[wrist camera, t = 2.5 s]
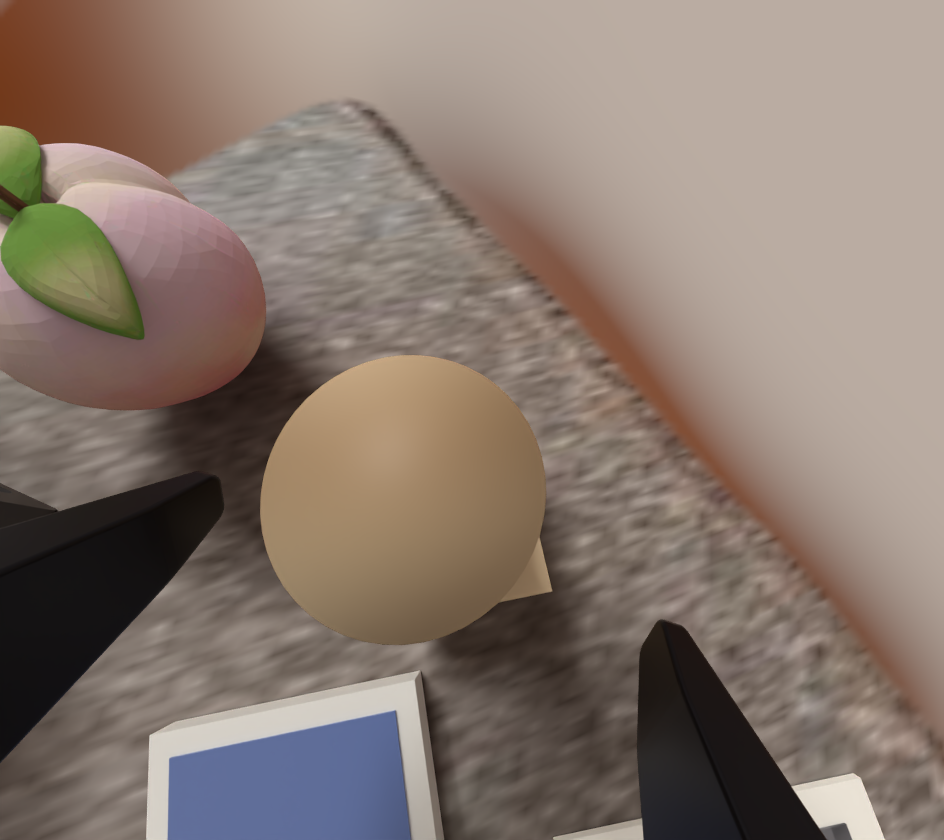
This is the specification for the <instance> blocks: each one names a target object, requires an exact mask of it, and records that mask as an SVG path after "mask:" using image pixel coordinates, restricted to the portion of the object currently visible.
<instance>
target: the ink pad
mask: <svg viewBox="0 0 944 840" xmlns="http://www.w3.org/2000/svg"><path fill="white" fill-rule="evenodd" d="M146 840H444V834H443V827H442V820H441V813H440V806H439V799H438V791H437V784H436V777H435V770H434V763H433V756H432V749H431V742H430V734H429V727H428V720H427V713H426V706H425V699H424V692H423V684H422V677H421V670H420V671H415V672H411V673H406V674H401V675H396V676H391V677H387V678H382V679H377V680H372V681H367V682H363V683H358V684H353V685H348V686H343V687H339V688H334V689H329V690H324V691H320V692H315V693H310V694H305V695H300V696H296V697H291V698H286V699H281V700H276V701H272V702H267V703H262V704H257V705H252V706H248V707H243V708H238V709H233V710H229V711H224V712H219V713H214V714H209V715H205V716H200V717H195V718H190V719H185V720H181V721H176V722H174V723H172V724H170V725H168V726H166V727H164V728H162V729H161V730H159V731H157V732H155V733H153V734H151V735H150V740H149V771H148V802H147V833H146Z"/></svg>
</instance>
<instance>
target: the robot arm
mask: <svg viewBox="0 0 944 840" xmlns="http://www.w3.org/2000/svg"><path fill="white" fill-rule="evenodd" d="M223 510H224V501H223V494H222V488H221V482H220V479H219V478H218V477H217V476H215V475H212V474H209V473H206V472H203V471H196V472H192V473H189V474H185V475H182V476H178V477H175V478H171V479H168V480H165V481H161V482H158V483H154V484H151V485H148V486H144V487H141V488H137V489H134V490H130V491H127V492H124V493H120V494H117V495H113V496H110V497H106V498H103V499H100V500H96V501H93V502H89V503H86V504H83V505H79V506H76V507H72V508H69V509H65V510H62V511H59V512H55V513H52V514H48V515H45V516H41V517H38V518H35V519H31V520H28V521H24V522H21V523H17V524H14V525H11V526H7V527H4V528H0V763H1V762H2V761H3V759H4V758H5V757H6V756H7V755H8V754H9V753H10V752H11V751H12V750H13V749H14V748H15V747H16V746H17V745H18V743H19V742H20V741H21V740H22V739H23V738H24V737H25V736H26V735H27V734H28V733H29V732H30V731H31V730H32V728H33V727H34V726H35V725H36V724H37V723H38V722H39V721H40V720H41V719H42V718H43V717H44V716H45V715H46V714H47V712H48V711H49V710H50V709H51V708H52V707H53V706H54V705H55V704H56V703H57V702H58V701H59V700H60V699H61V697H62V696H63V695H64V694H65V693H66V692H67V691H68V690H69V689H70V688H71V687H72V686H73V685H74V684H75V682H76V681H77V680H78V679H79V678H80V677H81V676H82V675H83V674H84V673H85V672H86V671H87V670H88V669H89V668H90V666H91V665H92V664H93V663H94V662H95V661H96V660H97V659H98V658H99V657H100V656H101V655H102V654H103V653H104V651H105V650H106V649H107V648H108V647H109V646H110V645H111V644H112V643H113V642H114V641H115V640H116V639H117V638H118V636H119V635H120V634H121V633H122V632H123V631H124V630H125V629H126V628H127V627H128V626H129V625H130V624H131V623H132V622H133V620H134V619H135V618H136V617H137V616H138V615H139V614H140V613H141V612H142V611H143V610H144V609H145V608H146V607H147V605H148V604H149V603H150V602H151V601H152V600H153V599H154V598H155V597H156V596H157V595H158V594H159V593H160V592H161V590H162V589H163V588H164V587H165V586H166V585H167V584H168V583H169V582H170V580H171V579H172V578H173V577H174V576H175V574H176V573H177V572H178V571H179V570H180V568H181V567H182V566H183V564H184V563H185V562H186V561H187V559H188V558H189V557H190V556H191V554H192V553H193V552H194V550H195V549H196V548H197V547H198V545H199V544H200V543H201V541H202V540H203V539H204V538H205V536H206V535H207V534H208V532H209V531H210V530H211V529H212V527H213V526H214V525H215V523H216V522H217V521H218V520H219V518H220V517H221V515H222V513H223ZM637 757H638V773H639V786H640V800H641V813H642V826H643V840H827V839H826V837H825V836H824V834H823V833H822V831H821V830H820V828H819V827H818V825H817V824H816V822H815V821H814V819H813V818H812V816H811V815H810V813H809V812H808V811H807V809H806V808H805V806H804V805H803V803H802V802H801V800H800V799H799V797H798V796H797V794H796V793H795V791H794V790H793V788H792V787H791V785H790V784H789V782H788V781H787V779H786V778H785V776H784V775H783V773H782V772H781V770H780V769H779V767H778V766H777V764H776V763H775V761H774V760H773V758H772V757H771V755H770V754H769V752H768V751H767V749H766V748H765V746H764V745H763V743H762V742H761V740H760V739H759V737H758V736H757V734H756V733H755V731H754V730H753V728H752V727H751V725H750V724H749V722H748V721H747V719H746V718H745V716H744V715H743V713H742V712H741V710H740V709H739V707H738V706H737V704H736V703H735V701H734V700H733V698H732V697H731V696H730V694H729V693H728V691H727V690H726V688H725V687H724V685H723V684H722V682H721V681H720V679H719V678H718V676H717V675H716V673H715V672H714V670H713V669H712V667H711V666H710V664H709V663H708V661H707V660H706V658H705V657H704V655H703V654H702V652H701V651H700V649H699V648H698V646H697V645H696V643H695V642H694V640H693V639H692V637H691V636H690V634H689V633H688V631H687V630H686V629H685V628H684V627H683V626H681V625H679V624H676V623H672V622H669V621H666V620H659V621H657V622H656V624H655V625H654V627H653V629H652V630H651V632H650V633H649V635H648V637H647V638H646V640H645V642H644V643H643V645H642V648H641V651H640V657H639V689H638V725H637Z"/></svg>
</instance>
